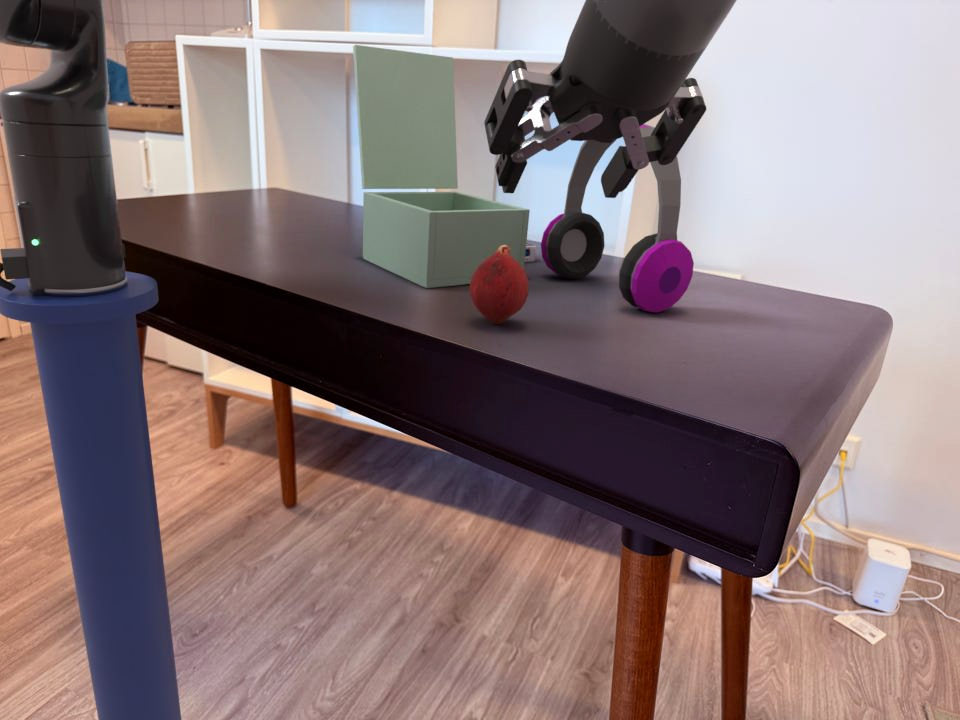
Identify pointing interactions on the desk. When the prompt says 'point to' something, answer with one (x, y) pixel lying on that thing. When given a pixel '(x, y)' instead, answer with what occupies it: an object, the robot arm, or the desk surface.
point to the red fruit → (499, 286)
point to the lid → (405, 119)
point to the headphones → (649, 264)
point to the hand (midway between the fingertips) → (557, 186)
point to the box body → (439, 234)
